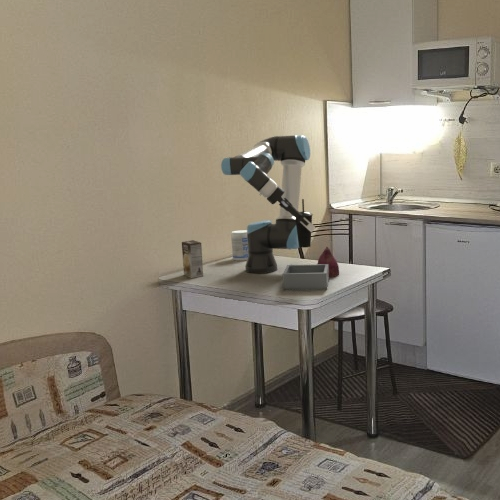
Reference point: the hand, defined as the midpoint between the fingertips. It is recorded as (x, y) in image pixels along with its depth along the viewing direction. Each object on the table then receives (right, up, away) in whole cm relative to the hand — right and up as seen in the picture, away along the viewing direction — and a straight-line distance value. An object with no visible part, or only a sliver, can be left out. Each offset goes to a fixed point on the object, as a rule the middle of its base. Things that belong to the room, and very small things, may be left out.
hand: (312, 228), depth 292 cm
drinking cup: (-3, -8, +1) cm, 8 cm away
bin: (-2, -24, +5) cm, 24 cm away
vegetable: (+9, -20, +22) cm, 31 cm away
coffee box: (-53, -21, +36) cm, 67 cm away
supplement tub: (-30, -14, +68) cm, 76 cm away
